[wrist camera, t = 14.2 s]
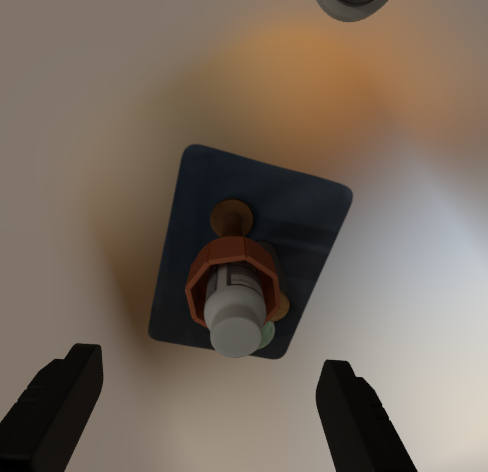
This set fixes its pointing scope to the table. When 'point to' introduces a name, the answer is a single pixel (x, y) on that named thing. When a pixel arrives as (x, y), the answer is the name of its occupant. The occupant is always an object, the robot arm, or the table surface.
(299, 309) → the table surface
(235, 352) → the pill bottle
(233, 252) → the raised bowl
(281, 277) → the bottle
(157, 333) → the table surface
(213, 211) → the stand
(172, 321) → the table surface
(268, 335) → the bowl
